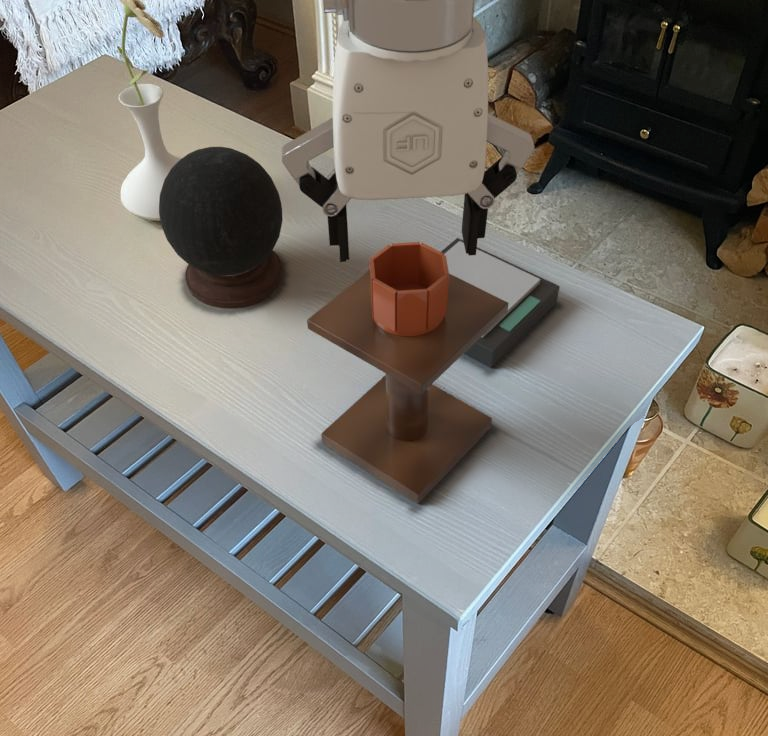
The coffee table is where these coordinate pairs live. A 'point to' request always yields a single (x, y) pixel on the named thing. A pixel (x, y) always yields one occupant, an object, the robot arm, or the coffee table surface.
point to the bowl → (409, 288)
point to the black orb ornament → (223, 226)
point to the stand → (407, 387)
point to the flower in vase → (144, 129)
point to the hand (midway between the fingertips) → (406, 247)
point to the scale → (509, 284)
